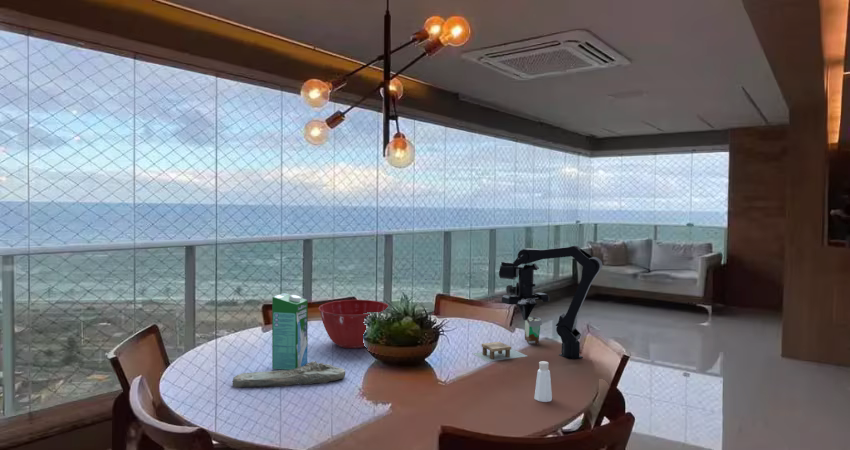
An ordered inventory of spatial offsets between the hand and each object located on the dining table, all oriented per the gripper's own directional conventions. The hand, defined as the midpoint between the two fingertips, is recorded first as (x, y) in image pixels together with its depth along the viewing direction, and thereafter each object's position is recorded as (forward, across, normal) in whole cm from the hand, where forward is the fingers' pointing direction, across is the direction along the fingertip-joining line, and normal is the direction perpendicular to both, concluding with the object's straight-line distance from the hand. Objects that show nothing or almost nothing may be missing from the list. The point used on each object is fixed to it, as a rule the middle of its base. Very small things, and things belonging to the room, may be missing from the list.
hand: (525, 320), depth 209 cm
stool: (+10, +11, +3) cm, 15 cm away
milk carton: (+12, +88, -15) cm, 90 cm away
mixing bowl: (+12, +59, -34) cm, 69 cm away
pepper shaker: (+12, +25, +45) cm, 53 cm away
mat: (+12, +13, +2) cm, 18 cm away
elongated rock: (+13, +91, +1) cm, 92 cm away
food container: (+12, -11, -9) cm, 19 cm away
